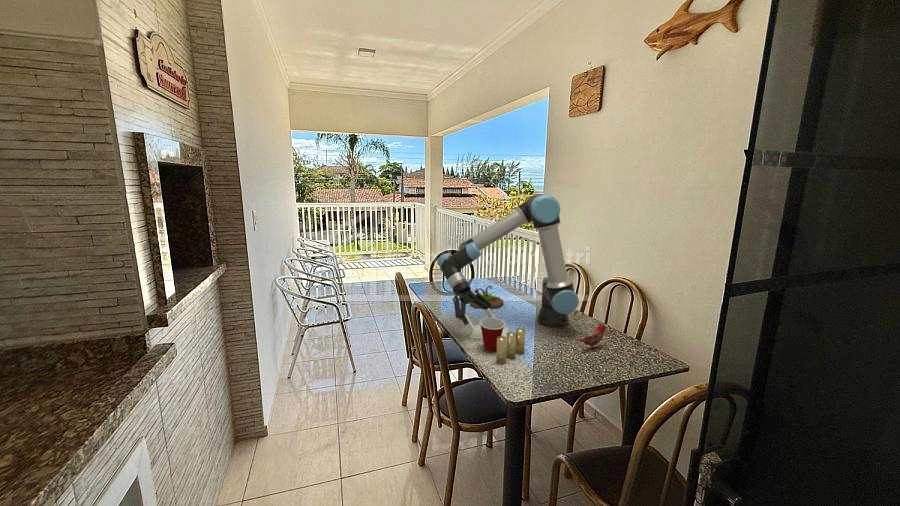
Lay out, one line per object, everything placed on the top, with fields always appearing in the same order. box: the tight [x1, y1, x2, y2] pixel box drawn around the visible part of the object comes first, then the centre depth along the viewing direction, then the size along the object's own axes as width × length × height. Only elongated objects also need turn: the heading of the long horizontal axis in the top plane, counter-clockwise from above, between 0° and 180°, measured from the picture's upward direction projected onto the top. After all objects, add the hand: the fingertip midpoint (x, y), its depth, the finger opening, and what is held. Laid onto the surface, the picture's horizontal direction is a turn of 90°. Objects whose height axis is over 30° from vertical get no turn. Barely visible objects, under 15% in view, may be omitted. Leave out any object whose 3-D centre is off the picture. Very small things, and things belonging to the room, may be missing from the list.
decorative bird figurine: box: [575, 323, 607, 350], centre depth 152 cm, size 3×18×10 cm, turn 118°
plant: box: [469, 285, 505, 311], centre depth 212 cm, size 20×20×11 cm
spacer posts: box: [496, 327, 526, 365], centre depth 146 cm, size 4×16×10 cm, turn 133°
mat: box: [469, 324, 510, 341], centre depth 171 cm, size 16×16×1 cm
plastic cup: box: [478, 317, 506, 353], centre depth 153 cm, size 11×11×12 cm
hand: (483, 326), depth 154 cm, fingers open, 13 cm apart
